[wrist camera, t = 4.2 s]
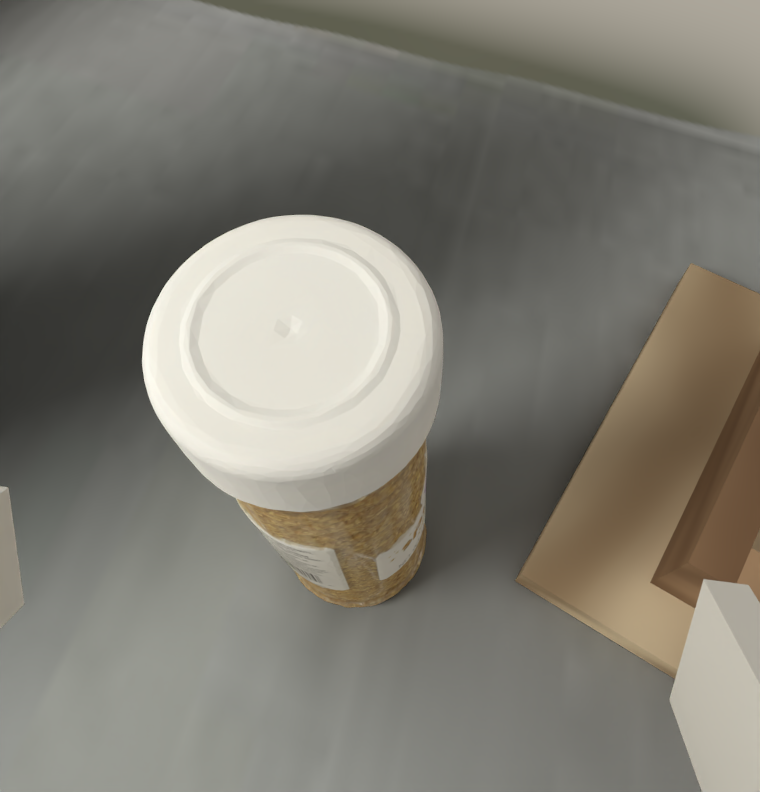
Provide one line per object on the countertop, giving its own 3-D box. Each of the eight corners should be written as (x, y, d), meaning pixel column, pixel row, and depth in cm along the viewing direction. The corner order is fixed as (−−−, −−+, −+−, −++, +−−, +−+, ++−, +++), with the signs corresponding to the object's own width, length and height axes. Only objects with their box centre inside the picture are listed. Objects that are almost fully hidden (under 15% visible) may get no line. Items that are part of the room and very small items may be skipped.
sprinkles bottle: (450, 570, 22) (505, 391, 9) (318, 635, 21) (188, 534, 9) (388, 447, 23) (365, 162, 11) (264, 504, 23) (95, 267, 10)
